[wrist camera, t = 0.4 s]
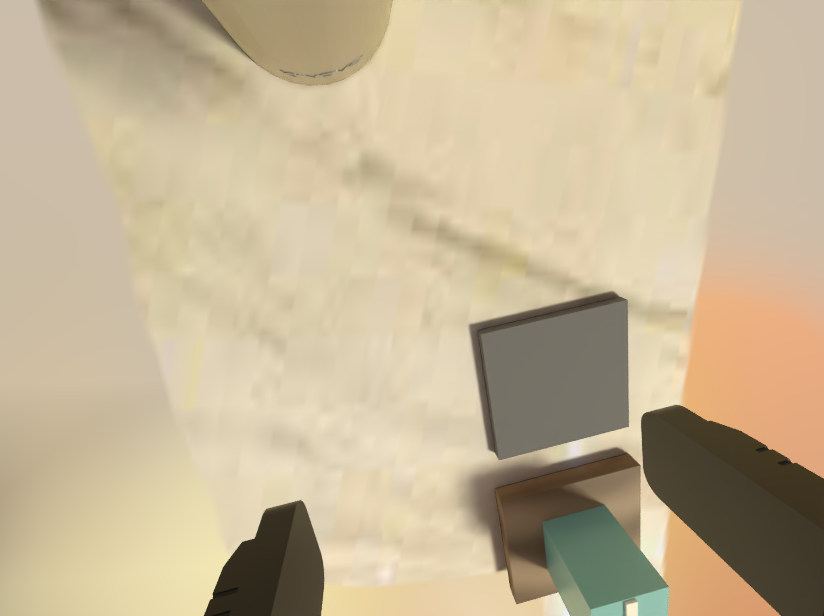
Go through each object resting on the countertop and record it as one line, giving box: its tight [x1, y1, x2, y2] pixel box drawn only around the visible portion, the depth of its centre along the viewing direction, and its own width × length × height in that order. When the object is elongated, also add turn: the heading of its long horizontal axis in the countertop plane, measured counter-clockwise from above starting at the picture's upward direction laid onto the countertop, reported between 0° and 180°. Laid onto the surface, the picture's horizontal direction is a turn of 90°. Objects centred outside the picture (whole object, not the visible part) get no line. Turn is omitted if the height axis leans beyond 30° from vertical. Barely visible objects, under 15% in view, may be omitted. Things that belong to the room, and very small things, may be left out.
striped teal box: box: [542, 505, 669, 616], centre depth 29 cm, size 6×6×7 cm
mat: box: [478, 297, 629, 460], centre depth 29 cm, size 11×11×1 cm
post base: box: [495, 454, 640, 604], centre depth 31 cm, size 12×12×7 cm
